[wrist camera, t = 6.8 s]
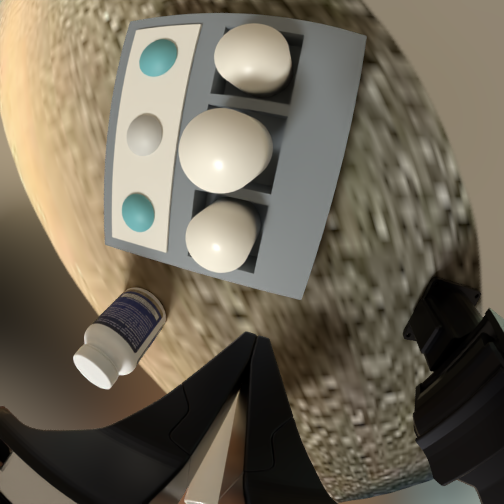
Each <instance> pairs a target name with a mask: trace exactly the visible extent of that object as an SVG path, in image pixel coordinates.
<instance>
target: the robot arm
mask: <svg viewBox="0 0 504 504" xmlns="http://www.w3.org/2000/svg"><path fill="white" fill-rule="evenodd" d="M436 282H437V284H435V283H436ZM434 284H435V285H434ZM476 294H477V295H476ZM475 295H476V296H475ZM480 295H481V293H480V291H479V290H477V289H474V288H471V287H468V286H465V285H462V284H458V283H455V282H452V281H448V280H445V279H442V278H438V277H434V278H433V279H432V280H431V281H430V283H429V285H428V287H427V289H426V291H425V293H424V295H423V297H422V299H421V300H420V302H419V304H418V306H417V308H416V310H415V311H414V313H413V315H412V317H411V319H410V320H409V323H408V325H407V326H406V328H405V330H404V331H403V337H404V339H407V340H413V341H417V344H418V346H419V349H420V351H421V353H422V354H424V356H425V359H426V361H427V364H428V367H429V369H430V371H434V372H433V373H432V374H431V375H430V376H429V377H428V378H427V379H426V380H425V381H424V382H423V383H420V384H419V385H418V386H417V387H416V394H415V412H414V413H413V421H414V431H415V433H416V436H417V438H416V439H415V441H416V443H417V444H418V445H419V446H420V447H421V449H422V450H423V451H424V453H425V455H426V457H427V459H428V461H429V464H430V467H431V471H432V474H433V478H434V479H435V480H436V481H437V482H438V483H439V484H441V485H442V486H446V485H448V484H449V483H451V482H453V481H455V480H459V481H461V482H463V483H465V484H468V485H470V486H472V487H474V488H475V489H476V491H477V494H478V496H479V499H480V502H481V504H504V319H503V318H502V317H500V316H499V315H498V314H497V313H496V312H494V311H493V310H492V309H491V308H489V309H488V310H487V311H486V313H485V314H486V315H485V316H484V317H482V316H481V314H480V313H479V312H478V310H477V309H476V308H475V305H476V303H477V301H478V300H479V298H480ZM408 333H409V334H408ZM407 334H408V335H407ZM256 337H257V338H256ZM241 383H242V384H241ZM240 386H241V387H240ZM239 389H240V390H239ZM238 392H239V394H238ZM237 394H238V398H237V404H236V409H235V415H234V420H233V426H232V431H231V437H230V442H229V447H228V453H227V458H226V463H225V469H224V474H223V479H222V484H221V490H220V495H219V500H218V504H338V503H336V502H335V501H334V500H333V499H332V498H331V497H330V496H329V494H328V493H327V492H326V490H325V488H324V487H323V485H322V483H321V481H320V479H319V477H318V475H317V473H316V471H315V469H314V467H313V465H312V463H311V461H310V459H309V457H308V455H307V452H306V450H305V448H304V446H303V443H302V441H301V438H300V435H299V433H298V430H297V427H296V423H295V420H294V418H293V414H292V411H291V408H290V404H289V401H288V398H287V395H286V392H285V388H284V385H283V382H282V378H281V375H280V372H279V369H278V365H277V362H276V359H275V355H274V352H273V349H272V346H271V342H270V339H269V338H266V337H263V336H257V335H256V334H253V333H250V332H244V333H243V334H242V335H240V336H239V337H238V338H237V339H236V340H235V341H233V342H232V343H231V344H230V345H229V346H227V347H226V348H225V349H224V350H223V351H221V352H220V353H219V354H218V355H216V356H215V357H214V358H213V359H212V360H210V361H209V362H208V363H207V364H205V365H204V366H203V367H202V368H200V369H199V370H198V371H197V372H195V373H194V374H193V375H192V376H190V377H189V378H188V379H187V380H185V381H184V382H183V383H182V385H181V384H180V385H179V386H177V387H176V388H175V389H173V390H172V391H171V392H169V393H168V394H166V395H165V396H164V397H162V398H161V399H159V400H157V401H156V402H154V403H152V404H151V405H149V406H147V407H145V408H143V409H141V410H139V411H138V412H136V413H134V414H132V415H130V416H128V417H126V418H124V419H122V420H120V421H118V422H116V423H113V424H111V425H109V426H106V427H102V428H97V429H86V430H40V429H35V428H31V427H29V426H26V425H25V424H23V423H22V422H20V421H19V420H18V419H17V418H16V417H15V416H14V415H13V414H12V413H11V412H10V411H9V410H8V409H7V408H5V406H0V504H178V503H179V501H180V499H181V498H182V496H183V495H184V493H185V491H186V489H187V488H188V486H189V484H190V483H191V481H192V479H193V477H194V476H195V474H196V472H197V470H198V469H199V467H200V465H201V463H202V461H203V460H204V458H205V456H206V454H207V452H208V450H209V449H210V447H211V445H212V443H213V441H214V439H215V437H216V435H217V434H218V432H219V430H220V428H221V426H222V424H223V422H224V420H225V418H226V416H227V414H228V412H229V410H230V408H231V406H232V404H233V402H234V400H235V398H236V396H237Z"/></svg>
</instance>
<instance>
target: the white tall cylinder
mask: <svg viewBox="0 0 504 504" xmlns="http://www.w3.org/2000/svg"><path fill="white" fill-rule="evenodd" d="M238 394H239V392H238ZM238 394H237V396H236V398H235V400H234V402H233V404H232V406H231V408H230V410H229V412H228V414H227V416H226V418H225V420H224V422H223V424H222V426H221V428H220V430H219V432H218V434H217V435H216V437H215V439H214V441H213V443H212V445H211V447H210V449H209V450H208V452H207V454H206V456H205V458H204V460H203V461H202V463H201V465H200V467H199V469H198V470H197V472H196V474H195V476H194V477H193V479H192V481H191V483H190V484H189V486H188V490H187V493H186V496H185V499H184V502H185V503H186V504H218V500H219V495H220V490H221V484H222V479H223V474H224V469H225V463H226V458H227V453H228V447H229V442H230V437H231V431H232V426H233V420H234V415H235V409H236V404H237V398H238Z"/></svg>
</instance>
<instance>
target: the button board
mask: <svg viewBox="0 0 504 504" xmlns="http://www.w3.org/2000/svg"><path fill="white" fill-rule="evenodd" d="M251 23H257V24H264V25H267V26H270V27H272V28H274V29H276V30H277V31H278V32H280V33H281V34H282V35H283V37H284V38H285V39H286V41H287V43H288V46H289V51H290V56H291V61H292V66H293V74H292V78H291V80H290V82H289V84H288V85H287V86H286V88H285V89H283V90H282V91H281V92H279V93H277V94H275V95H273V96H269V97H254V96H251V95H248V94H246V93H244V92H243V91H241V90H240V89H239V88H237V87H236V86H234V85H233V84H232V83H230V82H229V81H227V80H226V79H225V78H223V77H222V76H221V74H220V73H219V72H218V70H217V68H216V65H215V61H214V53H215V49H216V46H217V44H218V42H219V41H220V39H221V38H222V37H223V36H224V35H225V34H226V33H227V32H228V31H230V30H232V29H233V28H235V27H238V26H241V25H244V24H251ZM366 38H367V36H365V35H362V34H359V33H355V32H352V31H348V30H345V29H341V28H337V27H333V26H329V25H324V24H320V23H315V22H310V21H304V20H298V19H292V18H285V17H277V16H268V15H257V14H241V13H200V14H183V15H172V16H163V17H156V18H149V19H143V20H137V21H131V22H130V24H129V27H128V31H127V34H126V38H125V42H124V45H123V49H122V53H121V57H120V62H119V66H118V71H117V76H116V81H115V86H114V91H113V97H112V104H111V110H110V118H109V126H108V135H107V145H106V159H105V177H104V232H105V245H108V246H111V247H114V248H117V249H120V250H123V251H127V252H130V253H133V254H136V255H139V256H143V257H146V258H149V259H153V260H156V261H159V262H163V263H166V264H169V265H173V266H176V267H180V268H183V269H186V270H190V271H193V272H197V273H200V274H204V275H208V276H211V277H215V278H218V279H222V280H226V281H229V282H233V283H237V284H240V285H244V286H248V287H252V288H256V289H259V290H263V291H267V292H271V293H275V294H279V295H283V296H287V297H291V298H295V299H299V300H301V299H302V296H303V294H304V291H305V288H306V285H307V282H308V279H309V276H310V273H311V269H312V266H313V263H314V260H315V257H316V254H317V251H318V247H319V244H320V241H321V237H322V234H323V231H324V227H325V224H326V221H327V217H328V214H329V210H330V206H331V203H332V199H333V196H334V192H335V188H336V184H337V180H338V177H339V173H340V169H341V165H342V161H343V157H344V152H345V148H346V144H347V140H348V135H349V131H350V126H351V122H352V117H353V112H354V107H355V102H356V97H357V92H358V87H359V81H360V76H361V70H362V64H363V58H364V52H365V45H366ZM215 108H227V109H232V110H235V111H238V112H240V113H243V114H246V115H248V116H250V117H253V118H255V119H257V120H258V121H260V122H261V123H262V124H263V125H264V126H265V127H266V128H267V130H268V131H269V133H270V135H271V138H272V143H273V153H272V157H271V160H270V162H269V164H268V166H267V167H266V169H265V170H264V171H263V172H262V173H261V174H259V175H258V176H257V177H255V178H254V179H253V180H252V181H250V182H249V183H248V184H246V185H245V186H244V187H242V188H240V189H238V190H236V191H233V192H229V193H212V192H208V191H205V190H203V189H201V188H199V187H198V186H196V185H195V184H194V183H193V182H192V181H190V180H189V178H188V177H187V176H186V174H185V172H184V171H183V169H182V166H181V163H180V159H179V143H180V139H181V136H182V133H183V131H184V129H185V128H186V126H187V125H188V124H189V123H190V121H191V120H192V119H194V118H195V117H196V116H197V115H199V114H201V113H203V112H205V111H207V110H210V109H215ZM225 196H229V197H233V198H238V199H242V200H247V201H249V202H250V203H251V204H252V205H253V206H254V207H255V208H256V210H257V212H258V214H259V217H260V222H261V226H260V232H259V234H258V236H257V239H256V241H255V243H254V245H253V247H252V249H251V251H250V253H249V255H248V257H247V259H246V260H245V262H244V263H243V264H242V265H241V266H240V267H239V268H237V269H235V270H233V271H230V272H226V273H217V272H212V271H209V270H207V269H205V268H203V267H202V266H200V265H199V264H198V263H197V262H196V261H195V260H194V259H193V258H192V256H191V255H190V253H189V251H188V249H187V245H186V239H185V237H186V230H187V227H188V225H189V223H190V221H191V220H192V219H193V218H194V217H195V216H196V215H197V214H198V213H200V212H201V211H203V210H204V209H205V208H207V207H208V206H209V205H211V204H212V203H213V202H215V201H216V200H218V199H219V198H222V197H225Z"/></svg>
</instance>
